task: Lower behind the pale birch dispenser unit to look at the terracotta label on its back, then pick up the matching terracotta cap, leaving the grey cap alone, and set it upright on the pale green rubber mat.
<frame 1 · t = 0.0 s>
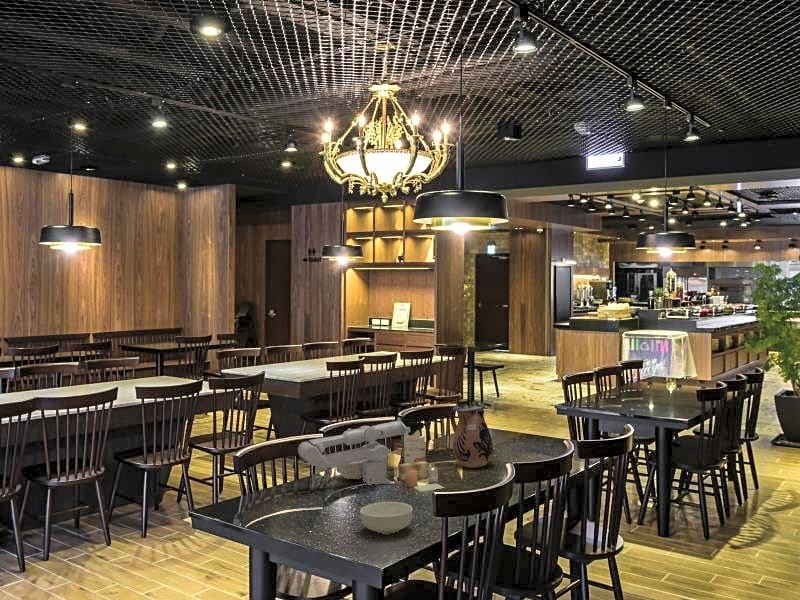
hand: (419, 423, 296), 22 cm above the table, tool horizontal, fingers open, 7 cm apart
terracotta cap: (412, 485, 282), on the table
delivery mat: (429, 488, 277), on the table
dispenser unit: (414, 478, 293), on the table
paper bowls: (355, 477, 297), on the table, touching arm
grey cap: (433, 482, 285), on the table
cereal bowl: (386, 531, 230), on the table
ink cartridge box: (415, 463, 319), on the table
ceramic pitcher: (469, 465, 312), on the table
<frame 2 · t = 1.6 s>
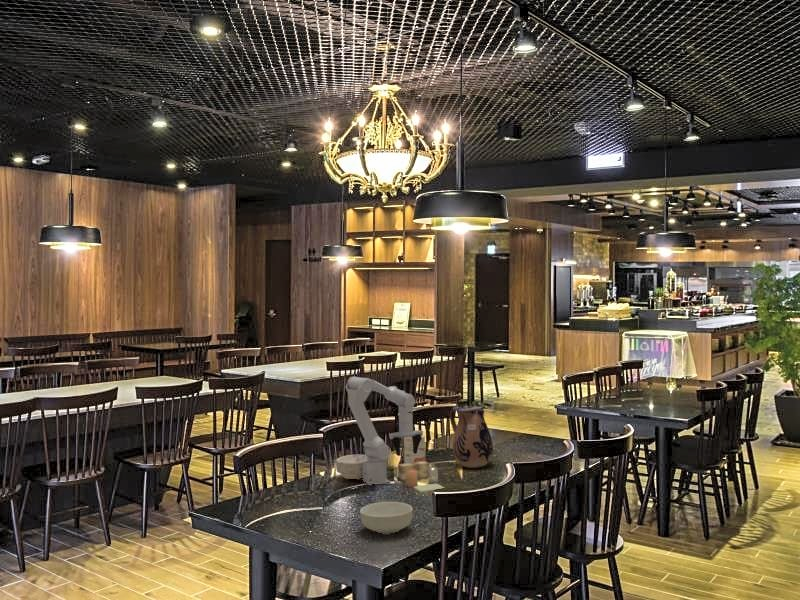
hand: (406, 454, 299), 8 cm above the table, tool pointing down, fingers open, 7 cm apart
nothing on the table moved.
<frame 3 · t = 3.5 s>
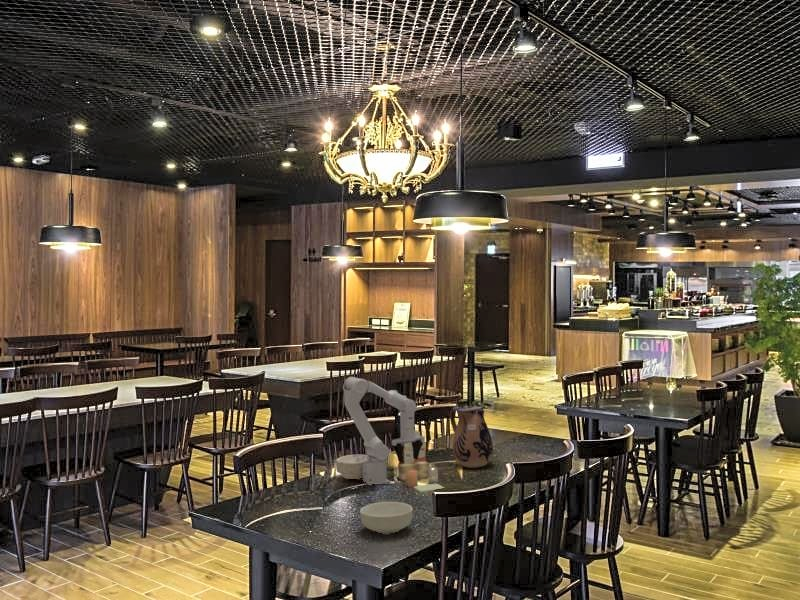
hand: (408, 460, 296), 7 cm above the table, tool pointing down, fingers open, 7 cm apart
nothing on the table moved.
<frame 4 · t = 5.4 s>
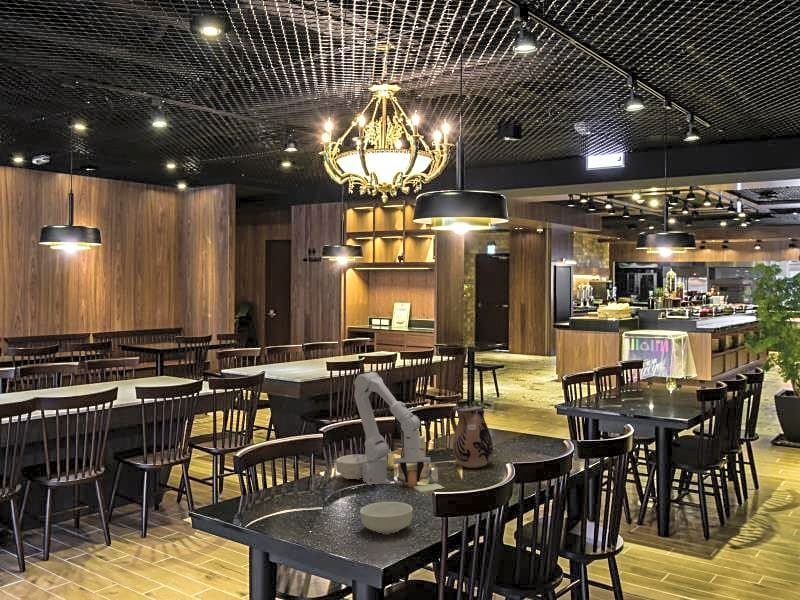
hand: (412, 481, 282), 2 cm above the table, tool pointing down, fingers closed on terracotta cap, 4 cm apart
terracotta cap: (412, 485, 282), on the table, touching gripper
everything else where it was.
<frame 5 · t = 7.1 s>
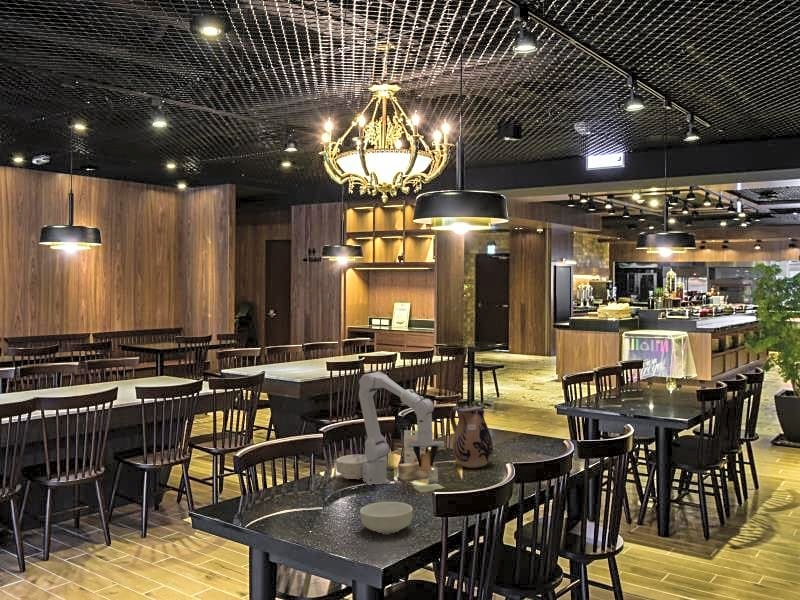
hand: (426, 465, 277), 9 cm above the table, tool pointing down, fingers closed on terracotta cap, 4 cm apart
terracotta cap: (426, 470, 277), point 7 cm above the table, touching gripper
everything else where it was.
when the fingers open (3 cm above the table, at t = 8.6 s): terracotta cap drops 1 cm, resting on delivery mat.
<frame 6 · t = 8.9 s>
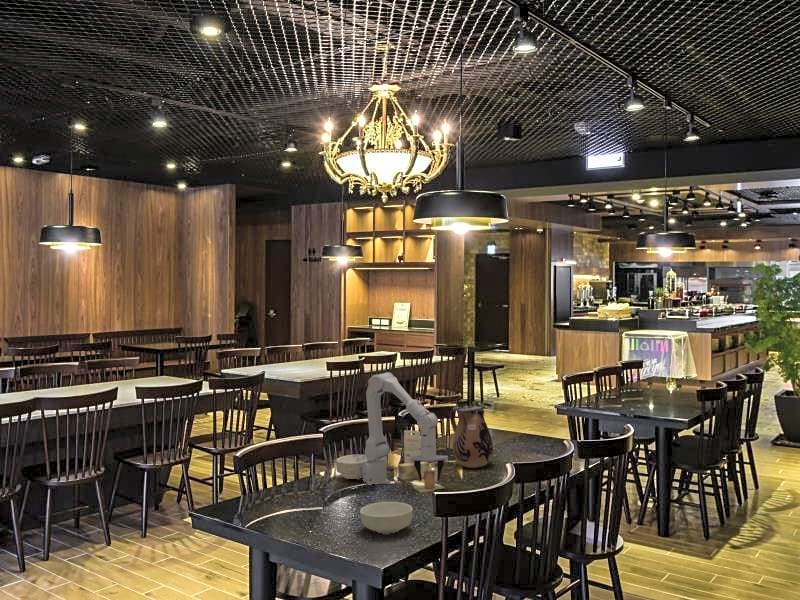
hand: (429, 480, 276), 3 cm above the table, tool pointing down, fingers open, 6 cm apart
terracotta cap: (429, 487, 276), point 1 cm above the table, touching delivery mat
everything else where it was.
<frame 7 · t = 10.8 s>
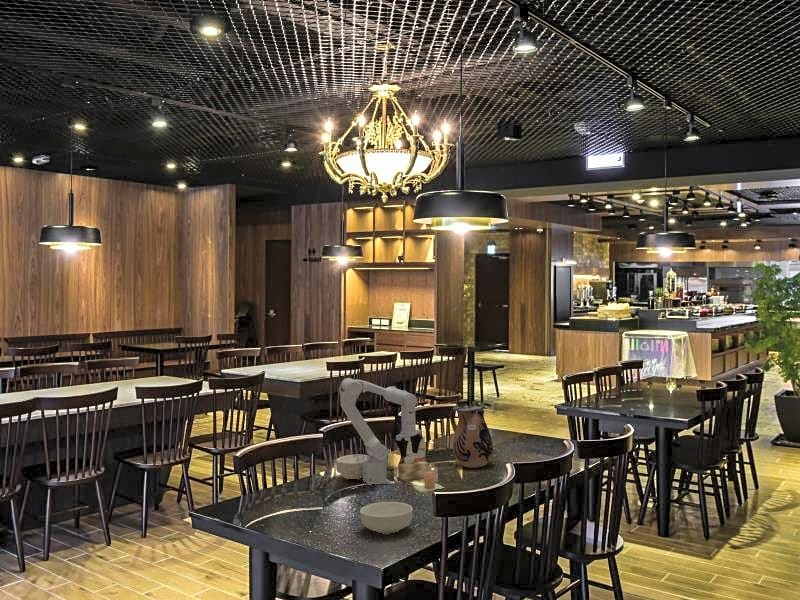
hand: (409, 455, 294), 9 cm above the table, tool pointing down, fingers open, 7 cm apart
nothing on the table moved.
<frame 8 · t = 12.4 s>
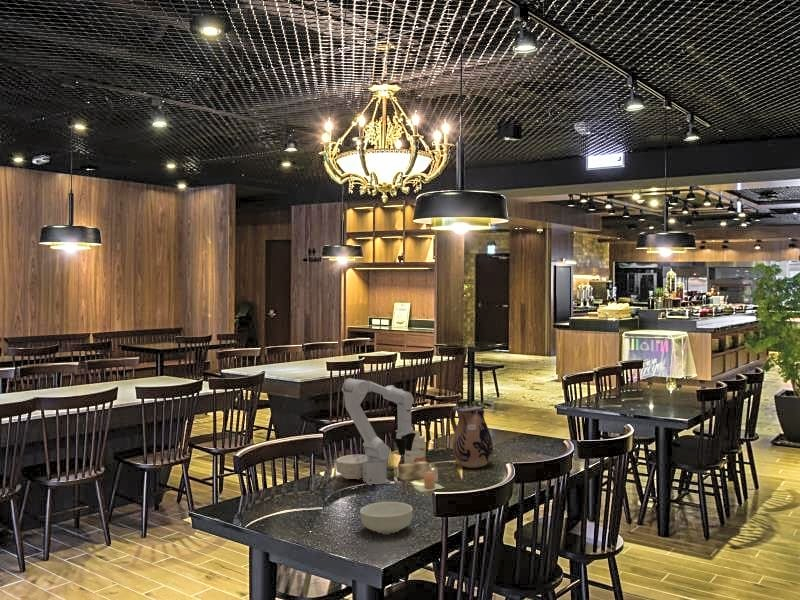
hand: (405, 452, 298), 9 cm above the table, tool pointing down, fingers open, 7 cm apart
nothing on the table moved.
at the end: terracotta cap inside the target area on the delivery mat (0.5 cm from its centre), point 0.6 cm above the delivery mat's base; terracotta cap tilted 1°; grey cap moved 0.0 cm from its start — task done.
